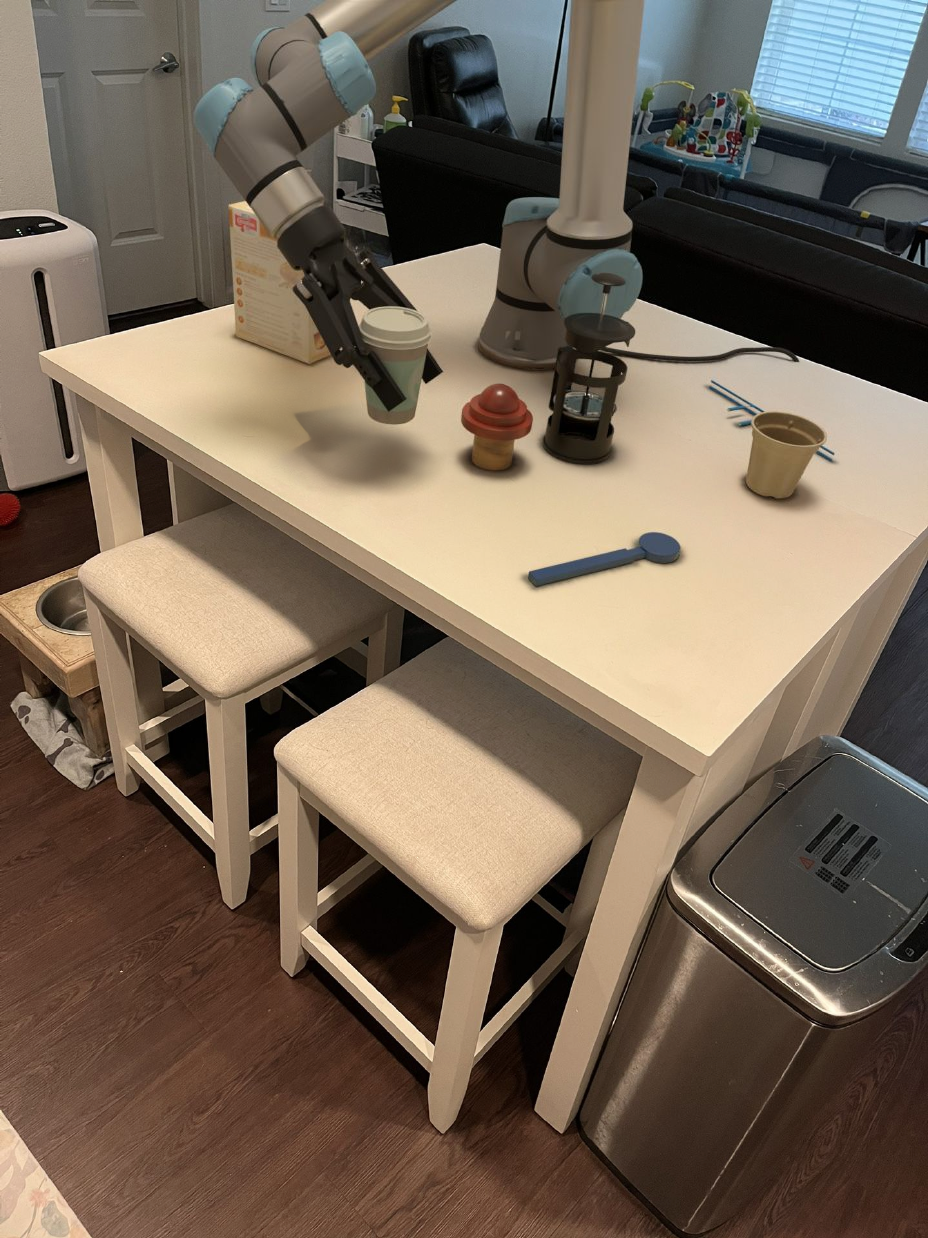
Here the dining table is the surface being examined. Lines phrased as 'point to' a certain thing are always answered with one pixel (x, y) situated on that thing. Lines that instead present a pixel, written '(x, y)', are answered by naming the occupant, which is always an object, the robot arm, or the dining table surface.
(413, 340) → the coffee cup
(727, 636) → the dining table surface
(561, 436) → the french press
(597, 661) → the dining table surface
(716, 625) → the dining table surface
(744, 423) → the chopsticks
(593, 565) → the spoon
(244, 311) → the coffeecake box
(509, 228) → the robot arm
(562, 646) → the dining table surface
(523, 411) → the mushroom
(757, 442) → the flower pot
